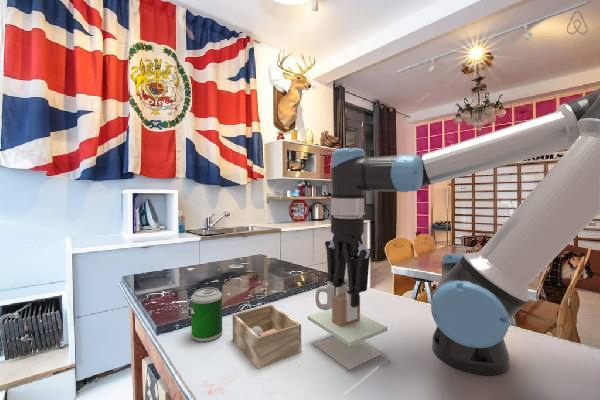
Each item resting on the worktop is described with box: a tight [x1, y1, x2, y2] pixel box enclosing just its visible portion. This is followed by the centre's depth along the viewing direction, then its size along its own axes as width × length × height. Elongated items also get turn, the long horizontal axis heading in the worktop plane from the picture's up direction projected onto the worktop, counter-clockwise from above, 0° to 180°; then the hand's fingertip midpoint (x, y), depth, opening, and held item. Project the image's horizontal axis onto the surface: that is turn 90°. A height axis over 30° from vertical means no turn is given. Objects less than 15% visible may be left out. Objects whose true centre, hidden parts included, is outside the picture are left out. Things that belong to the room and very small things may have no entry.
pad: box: [314, 336, 381, 370], centre depth 68 cm, size 12×10×1 cm
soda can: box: [190, 287, 223, 343], centre depth 74 cm, size 8×8×12 cm
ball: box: [252, 326, 264, 336], centre depth 71 cm, size 4×4×4 cm
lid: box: [307, 293, 389, 346], centre depth 68 cm, size 15×12×8 cm
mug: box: [315, 278, 349, 311], centre depth 85 cm, size 12×8×11 cm
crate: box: [232, 304, 302, 369], centre depth 70 cm, size 14×11×7 cm
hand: (346, 316), depth 68 cm, fingers closed on lid, 3 cm apart
